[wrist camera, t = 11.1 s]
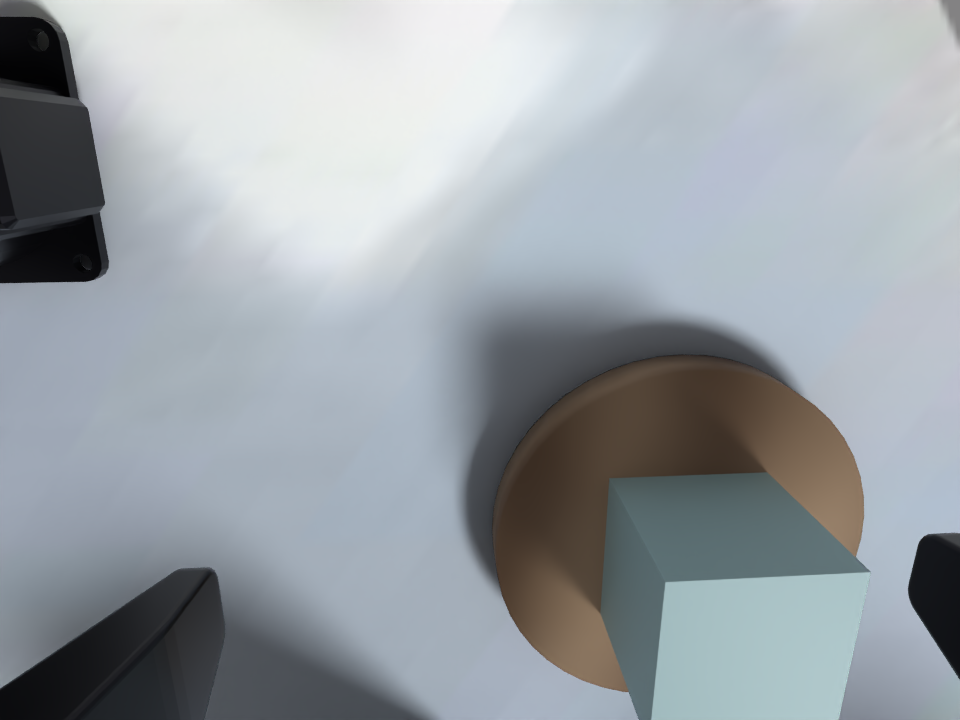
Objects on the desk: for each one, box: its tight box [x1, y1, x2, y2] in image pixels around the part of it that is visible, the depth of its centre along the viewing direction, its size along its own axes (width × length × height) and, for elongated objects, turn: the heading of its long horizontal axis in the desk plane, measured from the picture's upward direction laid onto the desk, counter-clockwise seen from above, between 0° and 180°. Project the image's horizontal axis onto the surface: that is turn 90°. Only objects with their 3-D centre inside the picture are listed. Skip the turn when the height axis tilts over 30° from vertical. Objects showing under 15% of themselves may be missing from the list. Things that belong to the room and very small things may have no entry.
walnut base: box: [492, 354, 864, 692], centre depth 21 cm, size 12×12×2 cm
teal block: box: [600, 472, 871, 720], centre depth 18 cm, size 5×5×5 cm
